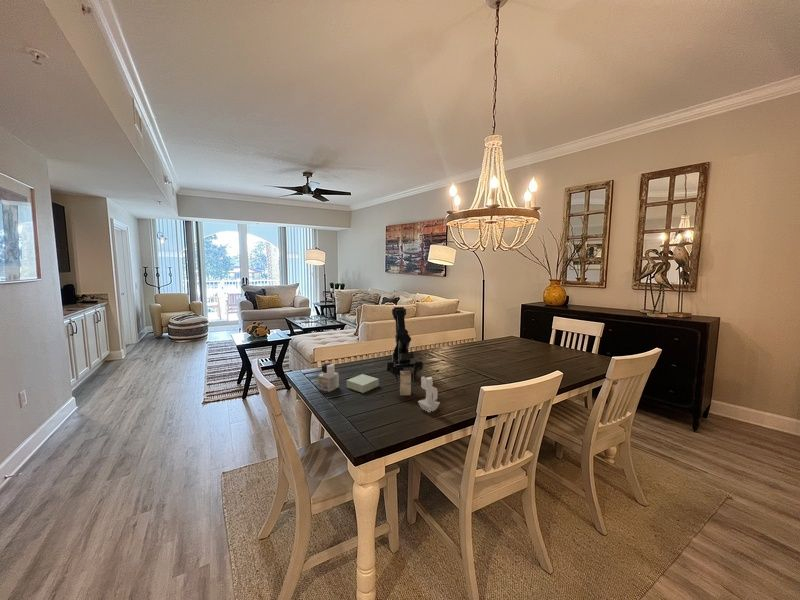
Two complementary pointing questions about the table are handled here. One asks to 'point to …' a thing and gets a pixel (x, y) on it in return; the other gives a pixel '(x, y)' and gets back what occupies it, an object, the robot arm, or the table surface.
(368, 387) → the sage base block
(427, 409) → the figurine
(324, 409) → the table surface
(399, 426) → the table surface
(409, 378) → the maple block
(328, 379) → the container
